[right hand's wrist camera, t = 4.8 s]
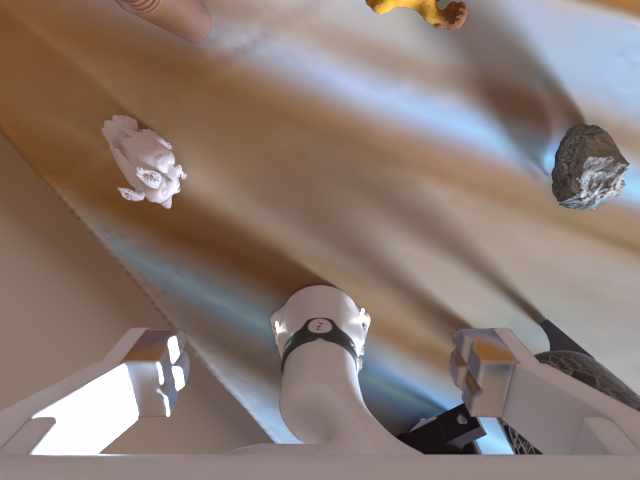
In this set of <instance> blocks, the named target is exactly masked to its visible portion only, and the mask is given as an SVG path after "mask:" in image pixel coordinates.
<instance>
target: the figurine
mask: <svg viewBox="0 0 640 480" xmlns="http://www.w3.org/2000/svg"><path fill="white" fill-rule="evenodd" d="M137 130H138V123H137V121H136V120H135V119H132V118H131V117H129V116H122V115H120V116H117V115H114V116H113V117H112V121H111V120H105V121H104V128H102V134H103V136H104V137H105V138H106V140H107V141H108V142H109V146H110V149H111V151H112V154H113V156H114V158H115V160H116V162H117V164H118V166H119V168H120V170H121V171H122V173H123V174H124V176H125V178H126V180H127V181H128V182H129V184H130V185H131V186H133V187H134V188H135V191H133V190H131V189H129V188H121V187H116V188H118V189H117V190H119V191H120V193H121V195H122V196H123V197H124V198H125V199H127V200H132V201H139V200H143V199H144V197H146V198H147V199H148V201H150V202H156V203H159V204H161V206H163V207H165V208H167V209H170V207H171V204H172V200H171V197H172V195H173V194H175V193H178V192H180V190H181V189H179V184H180V183H179V180H178V177H180V176H181V178H182V179H183V180H184V178H185V177H186V176H187V175H186V174H185V173H184V172H183V171H182V168H181V165H180V164H178V163H175V157H174V155H173V153H172V152H171V151H170V150H169V149H171V147H172V146H171V145H169V144H171V143H169V142H165V141H164V139H163V138H162V137H161V136H159V135H158V134H157V133H156V132H155V131H152V130H150V129H147V130H145V129H142V130H139V132H137ZM168 146H169V147H168ZM116 147H117V148H121V149H120V150H119V149H117V148H116ZM185 175H186V176H185ZM186 178H187V177H186Z"/></svg>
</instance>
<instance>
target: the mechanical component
mask: <svg viewBox="0 0 640 480" xmlns="http://www.w3.org/2000/svg"><path fill="white" fill-rule="evenodd" d="M466 422H467V423H466ZM485 435H487V434H486V432H485V430H484V428H483V426H482V424H481V422H480V420H479V418H478V417H471V415H470V413H469V411H468V409H467V407H466V405H465V403H463V404H461V405H459V406H457V407H455V408H453V409H451V410H449V411H447V412H445V413H443V414H441V415H439V416H437V417H431V418H429V419H426V418H421V419H420V422H418V423H417V424H416V425H415V426H414V427H413V428H412V429H411V430H410V431H409V433H407V434H405V433H403V434H401V435H399V436H397V437H396V438H397V439H398V440H400V441H401V442H403V443H405V444H406V445H408V446H409V447H411V448H413V449H415V450H417V451H419V452H421V453H423V454H424V455H483V454H482V452H481V450H480V448H479V446H478V444H477V441H476V439H478V438H480V437H483V436H485Z"/></svg>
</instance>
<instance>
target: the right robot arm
mask: <svg viewBox="0 0 640 480" xmlns="http://www.w3.org/2000/svg"><path fill="white" fill-rule="evenodd" d="M270 323H271V327H272V330H273V333H274V337H275V340H276V344H277V347H278V351H279V354H280V357H281V363H282V365H281V370H282V375H283V378H282V385H281V392H280V400H279V409H280V413H281V417H282V419H283V421H284V423H285V424H286V426H287V427H288V429H289V430H290V432H291V433H292V434H293V435H294V436H295V437H296V438H297V439H299V440H300V441H302V442H303V443H305V444H257V445H252V446H247V447H242V448H238V449H234V450H230V451H226V452H222V453H219V454H217V455H108V454H97V453H99V452H100V451H101V450H102V449H103V448H105V447H106V446H107V445H108V444H109V443H110V442H112V441H113V440H114V439H115V438H116V437H118V436H119V435H120V434H121V433H122V432H123V431H125V430H126V429H127V428H128V427H129V426H130V425H132V424H133V423H134V422H135V421H136V420H137V419H138V418H139V417H169V416H170V414H171V412H172V409H173V407H174V405H175V403H176V401H177V399H178V393H177V390H179V389H180V388H182V387H183V386H184V385H185V383H186V381H187V378H188V375H189V370H190V356H189V353H188V352H187V351H186V350H185V349H184V348H183V347H184V345H185V343H186V342H187V338H186V333H185V331H184V330H183V329H170V328H132V329H129V330H128V331H127V332H126V334H125V335H124V336H123V337H122V338H121V339H120V341H119V342H118V343H117V344H116V345H115V346H114V347H113V349H112V350H111V351H110V352H109V353H108V354H107V355H106V357H105V358H104V359H103V360H102V361H101V362H100V363H99V364H92V365H90V366H88V367H87V368H85V369H83V370H81V371H79V372H77V373H75V374H73V375H71V376H69V377H67V378H65V379H63V380H61V381H59V382H57V383H55V384H53V385H51V386H49V387H47V388H46V389H44V390H42V391H40V392H38V393H36V394H34V395H32V396H30V397H28V398H26V399H24V400H22V401H20V402H18V403H16V404H14V405H12V406H10V407H9V408H7V409H5V410H3V411H1V412H0V480H640V412H639V411H637V410H635V409H633V408H631V407H629V406H627V405H625V404H623V403H622V402H620V401H618V400H616V399H614V398H612V397H610V396H608V395H606V394H604V393H602V392H600V391H598V390H596V389H594V388H592V387H590V386H588V385H587V384H585V383H583V382H581V381H579V380H577V379H575V378H573V377H571V376H569V375H567V374H565V373H563V372H561V371H559V370H557V369H555V368H553V367H552V366H550V365H548V364H541V363H540V362H539V361H538V360H537V359H536V358H535V357H534V355H533V354H532V353H531V352H530V351H529V350H528V349H527V347H526V346H525V345H524V344H523V343H522V342H521V340H520V339H519V338H518V337H517V336H516V335H515V334H514V332H513V331H512V330H511V329H509V328H490V329H456V331H455V333H454V338H453V342H454V343H455V345H456V347H457V348H456V349H455V350H454V351H453V352H452V353H451V357H450V370H451V375H452V378H453V381H454V383H455V385H456V386H457V387H458V388H460V389H461V390H463V393H462V399H463V401H464V403H465V405H466V407H467V409H468V411H469V413H470V415H471V417H500V418H502V419H503V420H504V421H505V422H506V423H507V424H509V425H510V426H511V427H512V428H513V429H514V430H516V431H517V432H518V433H519V434H520V435H521V436H523V437H524V438H525V439H526V440H527V441H528V442H530V443H531V444H532V445H533V446H534V447H535V448H537V449H538V450H539V451H540V452H541V453H543V454H544V455H424V454H423V453H421V452H419V451H417V450H415V449H413V448H411V447H409V446H408V445H406V444H405V443H403V442H401V441H400V440H398V439H397V438H396V437H394V436H393V435H392V434H390V433H389V432H388V431H387V430H386V429H385V428H384V427H383V426H382V425H381V424H380V423H379V422H378V421H377V420H376V419H375V418H374V417H373V416H372V414H371V413H370V412H369V410H368V409H367V407H366V405H365V403H364V401H363V398H362V395H361V391H360V387H359V382H358V377H357V375H358V370H359V371H360V370H361V369H362V358H361V357H360V355H363V354H364V347H363V344H364V340H365V337H366V333H367V330H368V327H369V323H370V316H369V315H368V314H367V313H366V312H365V311H364V309H362V310H361V309H359V308H358V307H357V306H356V305H355V303H354V302H353V301H352V299H351V298H350V297H349V296H348V295H347V294H345V293H344V292H343V291H341V290H339V289H337V288H334V287H331V286H325V285H315V286H309V287H306V288H303V289H301V290H299V291H297V292H296V293H295V294H293V295H292V296H291V297H290V298H289V299H288V301H287V302H286V303H285V305H284V306H283V307H282V308H281V309H279V310H277V311H275V312H274V313H273V314H272V315H271V316H270ZM362 324H364V325H362ZM319 453H320V454H321V455H319Z"/></svg>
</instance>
